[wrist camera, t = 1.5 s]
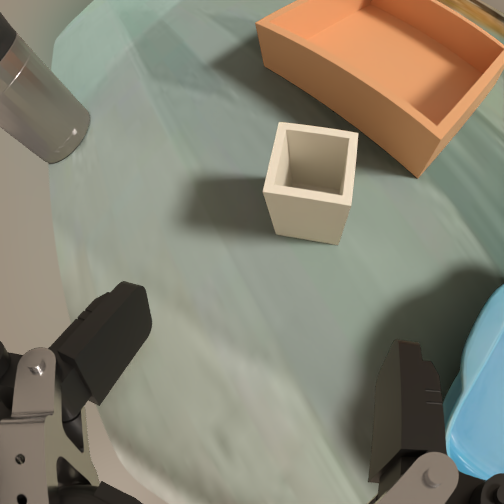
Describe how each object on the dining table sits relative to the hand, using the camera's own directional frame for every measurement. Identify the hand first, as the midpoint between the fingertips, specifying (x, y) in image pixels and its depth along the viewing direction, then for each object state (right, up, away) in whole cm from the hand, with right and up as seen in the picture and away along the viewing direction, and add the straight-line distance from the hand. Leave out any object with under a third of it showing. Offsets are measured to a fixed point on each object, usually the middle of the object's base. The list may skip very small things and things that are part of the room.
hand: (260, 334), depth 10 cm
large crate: (+17, +25, +22) cm, 37 cm away
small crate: (+5, +6, +19) cm, 21 cm away
